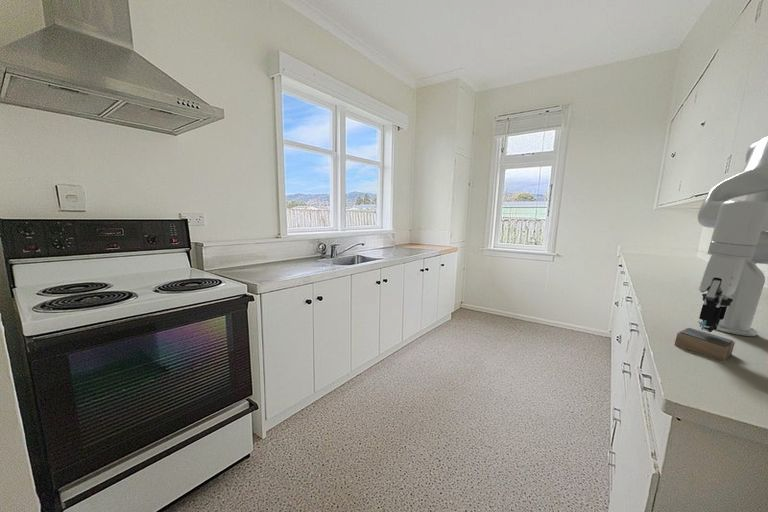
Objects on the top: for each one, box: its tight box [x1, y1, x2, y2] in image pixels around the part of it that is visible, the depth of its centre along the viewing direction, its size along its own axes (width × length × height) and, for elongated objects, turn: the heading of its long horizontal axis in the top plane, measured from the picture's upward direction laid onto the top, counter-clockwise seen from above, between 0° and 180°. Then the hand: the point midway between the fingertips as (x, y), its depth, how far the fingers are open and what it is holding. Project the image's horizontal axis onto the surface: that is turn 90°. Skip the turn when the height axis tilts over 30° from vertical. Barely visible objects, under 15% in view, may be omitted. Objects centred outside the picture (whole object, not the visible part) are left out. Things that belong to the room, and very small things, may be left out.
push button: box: [699, 293, 733, 333], centre depth 76 cm, size 7×5×10 cm
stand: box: [674, 327, 736, 362], centre depth 78 cm, size 8×9×4 cm
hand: (711, 318), depth 77 cm, fingers closed on push button, 4 cm apart
